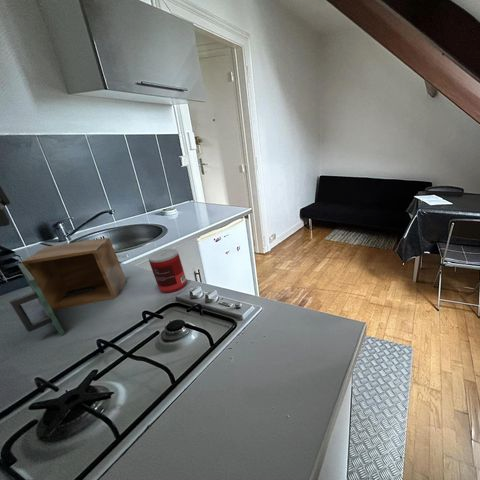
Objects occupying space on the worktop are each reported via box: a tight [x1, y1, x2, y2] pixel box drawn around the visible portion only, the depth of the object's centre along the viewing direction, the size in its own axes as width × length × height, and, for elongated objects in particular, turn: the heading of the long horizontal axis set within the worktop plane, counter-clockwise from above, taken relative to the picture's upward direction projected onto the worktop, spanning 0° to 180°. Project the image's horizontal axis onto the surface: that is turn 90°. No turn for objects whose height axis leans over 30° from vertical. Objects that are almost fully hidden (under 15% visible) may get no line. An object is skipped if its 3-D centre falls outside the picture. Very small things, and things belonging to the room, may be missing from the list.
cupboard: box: [21, 237, 128, 312], centre depth 75 cm, size 10×16×16 cm, turn 109°
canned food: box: [148, 248, 187, 294], centre depth 78 cm, size 8×8×11 cm
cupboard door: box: [8, 262, 66, 337], centre depth 62 cm, size 5×16×15 cm, turn 54°
